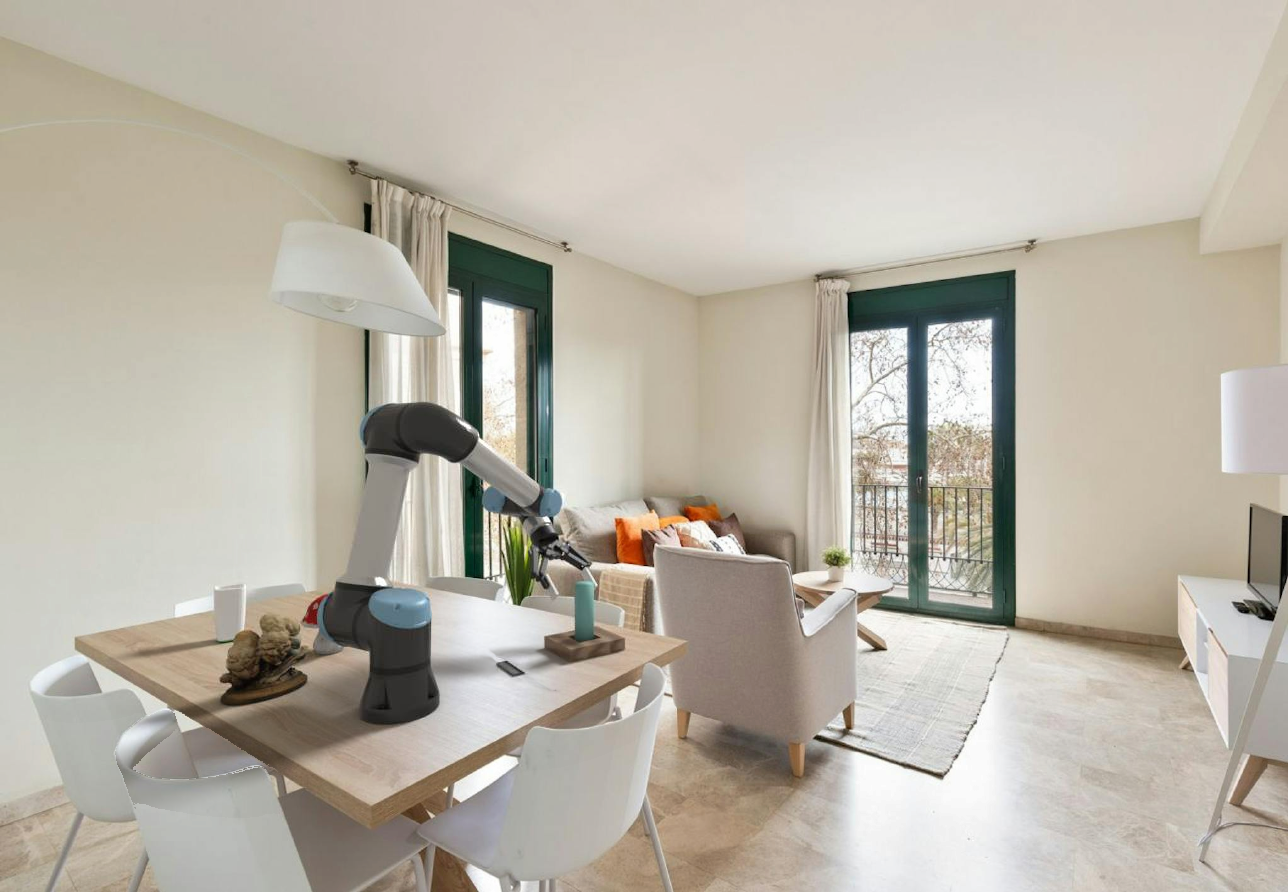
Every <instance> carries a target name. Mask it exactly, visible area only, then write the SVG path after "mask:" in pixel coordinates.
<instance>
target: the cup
mask: <svg viewBox="0 0 1288 892" xmlns="http://www.w3.org/2000/svg"><path fill="white" fill-rule="evenodd" d="M246 607H247V585H246V584H245V583H232V584H222V585H215V586H214V587H213V612H214V613H213V615H214V626H215V627H214V628H215V634H216V635H215V636H216V639H217V642H219V643H227V642H233V639H234V637H235V635H236V634H237V633H239V632H241V631H243V630H245V622H246V612H247V611H246Z"/></svg>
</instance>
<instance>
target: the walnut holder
mask: <svg viewBox="0 0 1288 892" xmlns="http://www.w3.org/2000/svg"><path fill="white" fill-rule="evenodd" d="M543 639H544V642H543V645H544V649H546V650H547V651H549V652H551V653H553V654H555V655H557V656H559V657H560V658H562V659H564V660H566V661H568V662H570V663H573V662H578V661H583V660H587V659H591V658H595V657H600V656H604V655H608V654H613V653H617V652H621V651H624V650H626V638H625V637H624V636H623V635H622V636H621V635H619V634H616V633H614V632H612V631H609V630H608V629H605V628H602V627H600V626H598V625H594V640H589V641H584V642H578V641H576V640H575V629H574V630H569V631H564V632H558V633H555V634H549V635H544V637H543Z"/></svg>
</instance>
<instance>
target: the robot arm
mask: <svg viewBox="0 0 1288 892" xmlns="http://www.w3.org/2000/svg"><path fill="white" fill-rule="evenodd" d="M359 438H360V440H361V441H362V447H364V448H365V450H364V451H365V452H364V458H365V459H366V461H367V462H368V465H369V467H368V472H367V476H366V481H365V485H364V488H363V495H362V499H361V503H360V508H359V512H358V517H357V520H356V526H355V531H354V535H353V540H352V543H351V548H350V551H349V555H348V556H349V557H348V561H347V565H346V571H345V573H344V574H342V575H341V576H340V577H338V578H337V579H336V581H335V585H334V589H333V590H332V591H330V592H328V593H327V594H328V596H327V597H325V598H324V599H323V600H322V602H321V604H320V606H319V609H318V613H317V623H318V627H319V628H318V631H319V630H320V632H321V633H322V634H323V636H324V637H325V638H326V639H328V640H329V641H331V642H334V643H336V644H337V645H340V646H343V647H344V648H352V649H356V650H360V651H364V652H368V653H369V654H368V655H369V659H368V660H369V668H368V669H369V674H368V677H367V680H366V683H365V687H364V690H363V693H362V695H361V698H360V702H359V717H360V718H361V719H362V720H363V721H366V722H368V723H372V724H380V725H381V724H382V725H384V724H385V725H386V724H387V725H388V724H397V723H398V724H399V723H404V722H409V721H414V720H417V719H420V718H423V717H425V716H427V715H430V714H431V713H433V712H434V711H435V710H437V708H439V706H440V704H441V703H440V702H441V700H440V697H441V695H440V689H439V686H438V684H437V683H438V682H437V680H436V678H435V675H434V674H435V673H434V672H433V669H432V662H431V661H432V657H431V656H432V650H431V649H432V615H433V613H432V610H431V609H432V608H431V599H430V597H429V596H428V595H427V593H425V592H423V591H421V590H418V589H416V588H415V589H414V588H410V587H409V588H407V587H406V588H402V587H394V584H393V582H392V581H391V580H390V579H389V575H390V567H391V564H392V559H393V554H394V549H395V544H396V539H397V536H398V535H397V534H398V530H399V525H400V520H401V516H402V511H403V505H404V502H405V497H406V491H407V486H408V483H409V482H408V481H409V477H410V473H411V471H413V470H415V469H416V468H417V467H419V463H420V458H421V455H424V454H427V455H433V456H437V457H441V458H443V459H444V460H446V461H447V462H449V463H451V464H460V465H461V466H462V467H464V468H465V469H466V470H468V471H470V472H471V473H473V474H474V475H475V476H477V477H478V478H480V479H481V480H483V482H485V483H487V484H488V485H489V486H488V487H487V488H486V489H485V490H484V492H483V494H482V499H481V503H482V507H483V508H484V510H486V511H487V512H490V513H492V514H495V515H498V514H499V515H502V516H509V517H513V518H516V519H517V518H518V520H519V522H520V523H521V525H522V527H523V529H524V532H525V533H526V534H527V536H528V538H529V540H530V543H531V544H532V545H531V546H530V547H529V548H528V550H527V554H528V556H529V577H530V579H531V580H535V582H536V583H540V585H541V587H542V588H543V590H546V593H547V594H548V596H549V598H550V599H551V602H552V601H555V600H556V599H557V597H558V596H560V595H559V591H558V589H557V588H556V586H555V585H554V582H553V581H552V578H551V577H550V574H549V573H546V570H547V567H548V565H549V561H554V560H560V561H565V562H566V563H568V564H570V565H571V566H573V567H574V568H576V569H578V570H579V571H580V574H581V576H582V577H581V578H583V581H590V582H594V591H595V590H596V589H597V588H598V583H597V582H596V580H595V578H594V574H593V572H592V570H591V569H590V567H591V566H592V565H593V561H592V560H591V559H590V558H588V556H586V555H585V554H584V553H583V552H581V551H580V550H579V549H578V548H577V547H576V546H574V544H573V543H572V542H571V540H569V539H567V540H566V541H565V542H562V541H561V540H560V536H559V533H558V531H557V530H556V527H555V526H554V525H553V523H552V521H551V519H550V518H554V517H556V516H557V515H559V514H560V511H562V510H561V509H562V507H563V498H562V495H561V493H560V491H559V490H557V489H555V488H551V487H549V488H548V487H547V488H544V487H543V486H541V484H539V483H538V482H536V481H535V480H534V479H532V478H531V477H530V476H529V475H527V474H526V473H525V471H522V470H521V469H520V468H519V467H518V466H516V465H515V464H514V463H512V462H511V461H510V460H509V459H507V458H506V457H505V456H503V455H502V454H501V453H499V451H497V450H496V449H494V448H493V447H492V446H491V445H489V444H488V443H487V442H485V440H483V439H482V438H481V437H480V434H479V431H478V430H477V428H475V427H474V426H473V425H472V424H470V423H469V422H468V421H466V420H465V419H464V418H462V417H461V416H460V415H457V414H456V412H455V413H454V412H453V411H452V410H449V409H448V408H445V407H443V406H442V405H439V404H436V403H433V402H430V401H415V402H403V403H402V402H401V403H397V402H396V403H395V402H393V403H391V402H390V403H386V404H382V405H378V406H375V407H374V408H371V409H370V410H369V411H368V412H367V413H365V416H364V417H363V419H362V420H361V422H360V426H359ZM538 555H540V556H541V560H540V565H539V557H538Z"/></svg>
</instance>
